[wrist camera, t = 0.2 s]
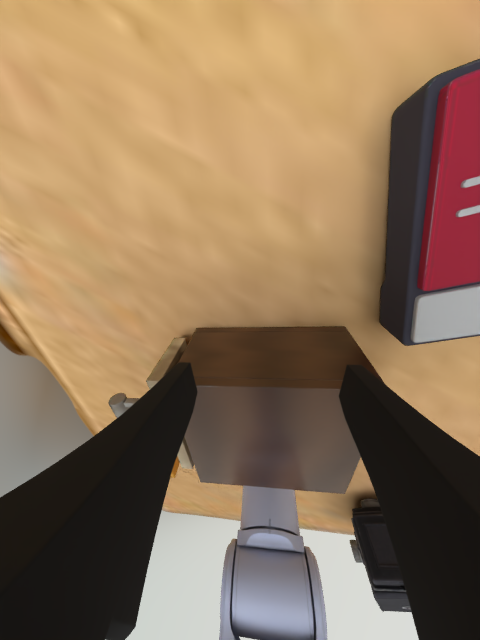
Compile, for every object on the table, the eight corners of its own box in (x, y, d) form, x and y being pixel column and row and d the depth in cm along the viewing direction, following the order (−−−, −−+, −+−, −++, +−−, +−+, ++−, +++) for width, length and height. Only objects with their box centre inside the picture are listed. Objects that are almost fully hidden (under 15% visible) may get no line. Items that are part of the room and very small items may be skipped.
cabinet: (214, 416, 28) (200, 482, 21) (196, 327, 21) (166, 384, 14) (323, 421, 26) (345, 494, 19) (345, 326, 19) (390, 390, 12)
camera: (402, 512, 39) (401, 487, 32) (450, 616, 30) (465, 615, 22) (345, 515, 42) (332, 493, 34) (373, 611, 33) (362, 609, 25)
